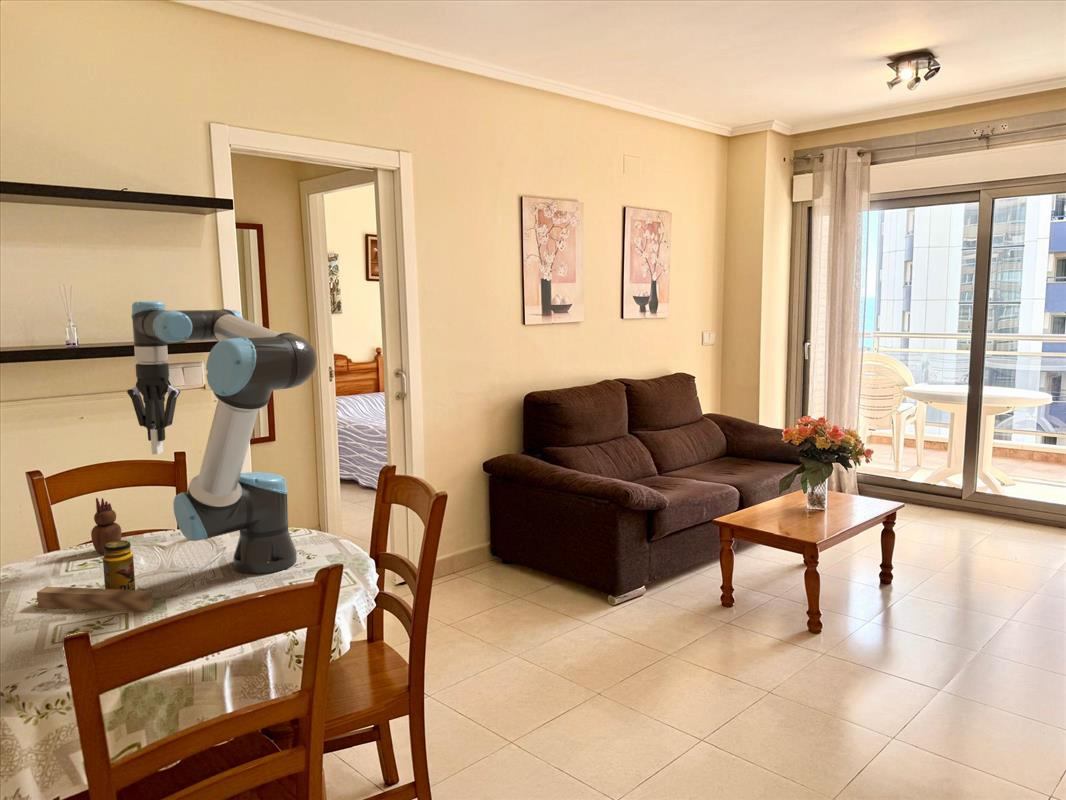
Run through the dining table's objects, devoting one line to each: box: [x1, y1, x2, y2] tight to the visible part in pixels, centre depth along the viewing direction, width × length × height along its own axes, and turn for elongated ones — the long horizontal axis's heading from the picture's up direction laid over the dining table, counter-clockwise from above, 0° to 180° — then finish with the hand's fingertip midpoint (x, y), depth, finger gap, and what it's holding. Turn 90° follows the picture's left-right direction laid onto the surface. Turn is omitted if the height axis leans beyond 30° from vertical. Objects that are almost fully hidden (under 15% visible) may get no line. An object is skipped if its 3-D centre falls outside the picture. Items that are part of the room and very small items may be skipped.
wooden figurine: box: [90, 497, 122, 555], centre depth 196 cm, size 7×6×15 cm
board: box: [36, 586, 154, 613], centre depth 163 cm, size 24×3×4 cm, turn 87°
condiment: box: [102, 539, 138, 590], centre depth 170 cm, size 7×8×12 cm
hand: (157, 453), depth 194 cm, fingers closed
